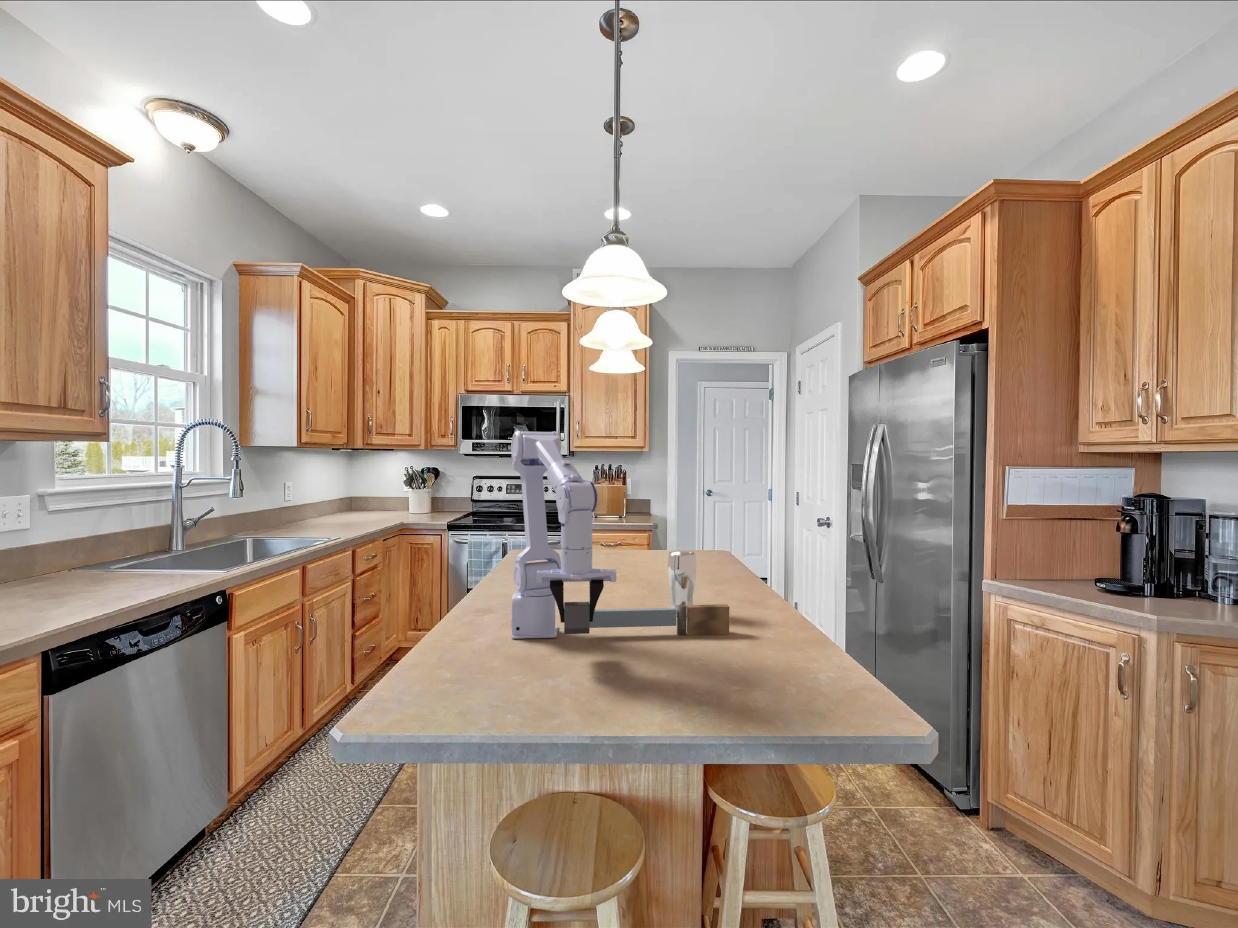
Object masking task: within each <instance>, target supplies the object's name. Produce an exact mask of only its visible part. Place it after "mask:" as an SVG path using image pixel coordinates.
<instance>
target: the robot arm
mask: <svg viewBox="0 0 1238 928" xmlns="http://www.w3.org/2000/svg"><path fill="white" fill-rule="evenodd" d="M510 451H511V462H512V463H511V464H512V470H514V471H515V472H517V473H518V474H519V476H520V481H521V492H522V496H521V497H522V509H523V519H524V522H523V523H524V535H525V536H524V537H525V548H524V549H523V550H522V551H521V552H520V553H519V554H518V555H517V556H515V559H514V569H513V584H514V586H515V590H517V592H514V593H513V594H512V598H511V599H512V601H511V621H510V622H511V623H510V625H511V639H516V640H517V639H550V638H551V639H553V638H557V637H558V628H559V627H558V624H556V606H557V609H558V613H559V619H560V623H562V624H564V602H565V601H564V600H565V598H564V597H565V595H564V591H565V590H564V589H565V588H564V583H571V582H572V583H575V582H577V583H579V582H582V583H583V582H585V583H586V582H589V601H588V602H589V622H593V615H594V611H595V610H596V607H597V604H598V601H599V598H600V596H601V594H602V592H603V590H604V586H605V584H604V582H610V583H616V582H617V569H608V568H607V569H604V568H593V513H594V512H595V511H596V510H597V508H598V505H599V504H598V503H599V494H598V489H597V486H596V484H595V482H594V481H592V480H587V479H586V480H585V479H583V477H582V476H581V475H580V473H579V471H578V470H577V468H576V467H575V466H574V464H573V463H572V462H571V461H570V460H567V459H566V460H565V459H564V457H563V455H562V454H561V451H562V441H561V436H560V435H559V433H558V432H557V431H522V430H516V431H514V433H513V435H512V438H511V445H510ZM545 473H546V477H547V478H546V479H547V480H548V483H549V484H550V485H551V488H552V489H553V491H554V493H555V494H556V496H555V501H556V503H555V504H556V507H557V512H558V513H557V515H558V516H557V517H558V522H559V523H560V526H561V527H560V528H561V529H560V537H561V538H560V547H561V548H560V553H558V552H557V551H556V550H554V549H553V548H551V547H550V546H549V539H548V535H549V534H548V527H547V526H548V525H547V524H548V523H547V511H546V501H545V500H546V499H545V489H544V475H545ZM560 555H561V556H560ZM544 560H545V561H544ZM531 561H532V562H531ZM533 561H535V562H533Z"/></svg>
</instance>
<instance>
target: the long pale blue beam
mask: <svg viewBox="0 0 1238 928" xmlns="http://www.w3.org/2000/svg"><path fill="white" fill-rule="evenodd" d="M640 627H643V628H644V627H645V628H646V627H648V628H649V627H677V617H676V608H670V607H657V608H656V607H655V608H654V607H653V608H652V607H651V608H608V609H595V611H594V615H593V622H589V629H601V628H602V629H603V628H604V629H606V628H607V629H608V628H640Z"/></svg>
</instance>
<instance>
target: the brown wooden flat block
mask: <svg viewBox="0 0 1238 928" xmlns="http://www.w3.org/2000/svg"><path fill="white" fill-rule="evenodd" d="M676 634H677V636H686V635H688V636H702V635H703V636H706V635H707V636H708V635H711V636H712V635H730V606H729V605H728V604H727V603H725V604H724V603H721V604H693V605H687V618H686V606H684V605H678V606H677V617H676Z"/></svg>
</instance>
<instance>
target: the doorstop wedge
mask: <svg viewBox="0 0 1238 928" xmlns="http://www.w3.org/2000/svg"><path fill="white" fill-rule="evenodd" d="M589 602H590V601H564V623H563V625H564V628H563V629H564V630H563V631H564V632H563V633H564V634H563V635H582V634H583V635H585V634H586V635H588V634H590V628H589Z"/></svg>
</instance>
